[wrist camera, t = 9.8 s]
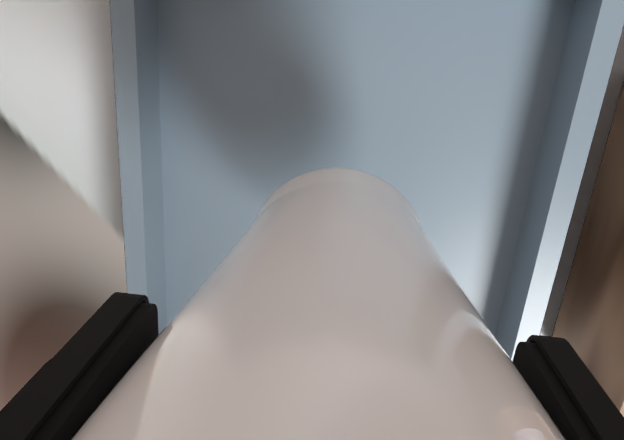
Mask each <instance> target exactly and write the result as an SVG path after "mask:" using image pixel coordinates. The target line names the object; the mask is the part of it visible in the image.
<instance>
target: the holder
mask: <svg viewBox="0 0 624 440" xmlns="http://www.w3.org/2000/svg"><path fill="white" fill-rule="evenodd" d="M552 337H559V338H565V339H566V340H567V341H568V342H569V343H570V345H571V346H572V347H573V349H574V350H575V351H576V353H577V354H578V356H579V357H580V358H581V360H582V361H583V362H584V364H585V365H586V366H587V368H588V369H589V370H590V372H591V373H592V375H593V376H594V377H595V379H596V380H597V381H598V383H599V384H600V385H601V387H602V388H603V390H604V391H605V392H606V394H607V395H608V396H609V398H610V399H611V400H612V402H613V403H614V404H615V406H616V407H617V409H618V410H619V411H620V413H621V414H622V415H623V417H624V83H623V87H622V91H621V94H620V98H619V101H618V105H617V108H616V112H615V115H614V119H613V122H612V126H611V129H610V133H609V137H608V140H607V144H606V147H605V151H604V154H603V158H602V161H601V165H600V168H599V172H598V175H597V179H596V182H595V186H594V190H593V193H592V197H591V200H590V204H589V207H588V211H587V214H586V218H585V221H584V225H583V228H582V232H581V236H580V239H579V243H578V246H577V250H576V253H575V257H574V260H573V264H572V267H571V271H570V274H569V278H568V281H567V285H566V289H565V292H564V296H563V299H562V303H561V306H560V310H559V313H558V317H557V320H556V324H555V327H554V331H553V335H552Z"/></svg>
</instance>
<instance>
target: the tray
mask: <svg viewBox="0 0 624 440" xmlns="http://www.w3.org/2000/svg"><path fill="white" fill-rule="evenodd" d="M110 16H111V33H112V49H113V66H114V82H115V99H116V116H117V132H118V149H119V166H120V182H121V199H122V215H123V232H124V249H125V264H126V281H127V293H130V294H139V295H146V296H147V297H148V300H149V303H153V304H156V306H157V309H158V330H159V334H160V333H161V332H162V331H163V329H164V328H165V327H166V326H167V325H168V323H169V322H170V321H171V320H172V319H173V318H174V316H175V315H176V314H177V313H178V312H179V311H180V309H181V308H182V307H183V306H184V305H185V304H186V302H187V301H188V300H189V299H190V298H191V297H192V295H193V294H194V293H195V292H196V291H197V289H198V288H199V287H200V286H201V285H202V284H203V282H204V281H205V280H206V279H207V278H208V276H209V275H210V274H211V273H212V272H213V270H214V269H215V268H216V267H217V266H218V264H219V263H220V262H221V261H222V260H223V258H224V257H225V256H226V255H227V254H228V252H229V251H230V250H231V249H232V248H233V246H234V245H235V244H236V243H237V242H238V240H239V239H240V238H241V237H242V235H243V234H244V233H245V232H246V231H247V229H248V228H249V227H250V226H251V224H252V222H253V221H254V219H255V217H256V215H257V213H258V211H259V210H260V208H261V207H262V205H263V204H264V203H265V201H266V200H267V199H268V198H269V197H270V195H271V194H273V193H274V192H275V191H276V190H277V189H278V188H279V187H281V186H282V185H283V184H285V183H286V182H288V181H289V180H291V179H293V178H295V177H297V176H299V175H301V174H304V173H306V172H310V171H313V170H317V169H323V168H350V169H355V170H360V171H363V172H367V173H370V174H372V175H374V176H377V177H379V178H380V179H382V180H384V181H386V182H387V183H389V184H390V185H392V186H393V187H394V188H395V189H397V190H398V191H399V192H400V193H401V194H402V195H403V196H404V197H405V198H406V199H407V201H408V202H409V203H410V204H411V206H412V207H413V209H414V210H415V212H416V214H417V215H418V217H419V220H420V222H421V224H422V226H423V228H424V231H425V233H426V235H427V237H428V238H429V240H430V242H431V243H432V245H433V246H434V248H435V249H436V251H437V252H438V254H439V255H440V257H441V258H442V260H443V261H444V263H445V264H446V266H447V267H448V269H449V270H450V272H451V273H452V274H453V276H454V277H455V279H456V280H457V282H458V283H459V285H460V286H461V288H462V289H463V291H464V292H465V294H466V295H467V297H468V298H469V299H470V301H471V302H472V304H473V305H474V307H475V308H476V310H477V311H478V313H479V314H480V316H481V317H482V318H483V320H484V321H485V323H486V324H487V326H488V327H489V329H490V330H491V331H492V333H493V334H494V336H495V337H496V339H497V340H498V342H499V343H500V344H501V346H502V347H503V349H504V350H505V352H506V353H507V355H508V356H509V358H510V359H511V360H512V362H513V358H514V354H515V350H516V347H517V345H518V343H519V342H526V341H527V339H528V338H529V336H531V335H539V334H540V330H541V327H542V323H543V319H544V316H545V312H546V308H547V305H548V301H549V297H550V294H551V290H552V286H553V283H554V279H555V275H556V272H557V268H558V264H559V261H560V257H561V253H562V250H563V246H564V242H565V239H566V235H567V231H568V228H569V224H570V220H571V217H572V213H573V209H574V206H575V202H576V198H577V195H578V191H579V187H580V184H581V180H582V176H583V173H584V169H585V165H586V161H587V158H588V154H589V150H590V147H591V143H592V139H593V136H594V132H595V128H596V125H597V121H598V117H599V114H600V110H601V106H602V103H603V99H604V95H605V92H606V88H607V84H608V81H609V77H610V73H611V70H612V66H613V62H614V59H615V55H616V51H617V48H618V44H619V40H620V37H621V33H622V29H623V26H624V0H110Z"/></svg>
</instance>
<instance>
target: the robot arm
mask: <svg viewBox="0 0 624 440" xmlns="http://www.w3.org/2000/svg"><path fill="white" fill-rule="evenodd" d="M158 335H159V330H158V309H157V306H156V304H153V303H149V300H148V297H147V296H146V295H139V294H130V293H119V292H116V293H114V294H113V295H111V297H110V298H109V299H108V300H107V301H106V302H105V303H104V304H103V305H102V306H101V307H100V308H99V309H98V310H97V312H96V313H95V314H94V315H93V316H92V317H91V318H90V319H89V320H88V321H87V322H86V323H85V324H84V325H83V326H82V328H81V329H80V330H79V331H78V332H77V333H76V334H75V335H74V336H73V337H72V338H71V339H70V340H69V341H68V342H67V343H66V345H65V346H64V347H63V348H62V349H61V350H60V351H59V352H58V353H57V354H56V355H55V356H54V357H53V358H52V359H51V360H49V361H48V362H47V363H46V364H45V365H44V366H43V367H42V368H41V369H40V370H39V371H38V372H37V373H36V374H35V375H34V376H33V377H32V378H31V379H30V380H29V381H28V383H27V384H26V385H25V386H24V387H23V388H22V389H21V390H20V391H19V392H18V393H17V394H16V395H15V396H14V397H13V398H12V400H11V401H10V402H9V403H8V404H7V405H6V406H5V407H4V408H3V409H2V410H1V411H0V440H71V439H72V438H73V436H74V435H75V434H76V433H77V432H78V430H79V429H80V428H81V427H82V425H83V424H84V423H85V422H86V421H87V419H88V418H89V417H90V416H91V415H92V413H93V412H94V411H95V410H96V409H97V407H98V406H99V405H100V404H101V403H102V401H103V400H104V399H105V398H106V397H107V395H108V394H109V393H110V392H111V391H112V389H113V388H114V387H115V386H116V385H117V383H118V382H119V381H120V380H121V379H122V378H123V376H124V375H125V374H126V373H127V372H128V370H129V369H130V368H131V367H132V366H133V365H134V363H135V362H136V361H137V360H138V359H139V358H140V356H141V355H142V354H143V353H144V352H145V351H146V349H147V348H148V347H149V346H150V345H151V343H152V342H153V341H154V340H155V339H156V338H157V336H158ZM513 363H514V365H515V366H516V368H517V369H518V371H519V372H520V373H521V375H522V376H523V378H524V379H525V381H526V382H527V384H528V385H529V387H530V388H531V389H532V391H533V392H534V394H535V395H536V397H537V398H538V400H539V401H540V403H541V404H542V405H543V407H544V408H545V410H546V411H547V413H548V414H549V416H550V417H551V419H552V420H553V422H554V423H555V425H556V426H557V428H558V429H559V431H560V432H561V434H562V435H563V437H564V438H565V440H624V417H623V415H622V414H621V413H620V411H619V410H618V409H617V407H616V406H615V404H614V403H613V402H612V400H611V399H610V398H609V396H608V395H607V394H606V392H605V391H604V390H603V388H602V387H601V385H600V384H599V383H598V381H597V380H596V379H595V377H594V376H593V375H592V373H591V372H590V370H589V369H588V368H587V366H586V365H585V364H584V362H583V361H582V360H581V358H580V357H579V356H578V354H577V353H576V351H575V350H574V349H573V347H572V346H571V345H570V343H569V342H568V341H567V340H566V339H565V338H559V337H549V336H540V335H531V336H529V338H528V339H527V341H526V342H519V343H518V345H517V347H516V350H515V354H514V358H513Z"/></svg>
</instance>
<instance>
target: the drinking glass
mask: <svg viewBox="0 0 624 440" xmlns="http://www.w3.org/2000/svg"><path fill="white" fill-rule="evenodd" d="M71 440H565V438H564V437H563V435H562V434H561V432H560V431H559V429H558V428H557V426H556V425H555V423H554V422H553V420H552V419H551V417H550V416H549V414H548V413H547V411H546V410H545V408H544V407H543V405H542V404H541V403H540V401H539V400H538V398H537V397H536V395H535V394H534V392H533V391H532V389H531V388H530V387H529V385H528V384H527V382H526V381H525V379H524V378H523V376H522V375H521V373H520V372H519V371H518V369H517V368H516V366H515V365H514V363H513V362H512V360H511V359H510V358H509V356H508V355H507V353H506V352H505V350H504V349H503V347H502V346H501V344H500V343H499V342H498V340H497V339H496V337H495V336H494V334H493V333H492V331H491V330H490V329H489V327H488V326H487V324H486V323H485V321H484V320H483V318H482V317H481V316H480V314H479V313H478V311H477V310H476V308H475V307H474V305H473V304H472V302H471V301H470V299H469V298H468V297H467V295H466V294H465V292H464V291H463V289H462V288H461V286H460V285H459V283H458V282H457V280H456V279H455V277H454V276H453V274H452V273H451V272H450V270H449V269H448V267H447V266H446V264H445V263H444V261H443V260H442V258H441V257H440V255H439V254H438V252H437V251H436V249H435V248H434V246H433V245H432V243H431V242H430V240H429V238H428V237H427V235H426V233H425V231H424V228H423V226H422V224H421V222H420V220H419V217H418V215H417V214H416V212H415V210H414V209H413V207H412V206H411V204H410V203H409V202H408V201H407V199H406V198H405V197H404V196H403V195H402V194H401V193H400V192H399V191H398V190H397V189H395V188H394V187H393V186H392V185H390V184H389V183H387V182H386V181H384V180H382V179H380V178H379V177H377V176H374V175H372V174H370V173H367V172H363V171H360V170H355V169H350V168H323V169H317V170H313V171H310V172H306V173H304V174H301V175H299V176H297V177H295V178H293V179H291V180H289V181H288V182H286V183H285V184H283V185H282V186H281V187H279V188H278V189H277V190H276V191H275V192H274V193H273V194H271V195H270V197H269V198H268V199H267V200H266V201H265V203H264V204H263V205H262V207H261V208H260V210H259V211H258V213H257V215H256V217H255V219H254V221H253V222H252V224H251V226H250V227H249V228H248V229H247V231H246V232H245V233H244V234H243V235H242V237H241V238H240V239H239V240H238V242H237V243H236V244H235V245H234V246H233V248H232V249H231V250H230V251H229V252H228V254H227V255H226V256H225V257H224V258H223V260H222V261H221V262H220V263H219V264H218V266H217V267H216V268H215V269H214V270H213V272H212V273H211V274H210V275H209V276H208V278H207V279H206V280H205V281H204V282H203V284H202V285H201V286H200V287H199V288H198V289H197V291H196V292H195V293H194V294H193V295H192V297H191V298H190V299H189V300H188V301H187V302H186V304H185V305H184V306H183V307H182V308H181V309H180V311H179V312H178V313H177V314H176V315H175V316H174V318H173V319H172V320H171V321H170V322H169V323H168V325H167V326H166V327H165V328H164V329H163V331H162V332H161V333H160V334H159V335H158V336H157V338H156V339H155V340H154V341H153V342H152V343H151V345H150V346H149V347H148V348H147V349H146V351H145V352H144V353H143V354H142V355H141V356H140V358H139V359H138V360H137V361H136V362H135V363H134V365H133V366H132V367H131V368H130V369H129V370H128V372H127V373H126V374H125V375H124V376H123V378H122V379H121V380H120V381H119V382H118V383H117V385H116V386H115V387H114V388H113V389H112V391H111V392H110V393H109V394H108V395H107V397H106V398H105V399H104V400H103V401H102V403H101V404H100V405H99V406H98V407H97V409H96V410H95V411H94V412H93V413H92V415H91V416H90V417H89V418H88V419H87V421H86V422H85V423H84V424H83V425H82V427H81V428H80V429H79V430H78V432H77V433H76V434H75V435H74V436H73V438H72V439H71Z"/></svg>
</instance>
